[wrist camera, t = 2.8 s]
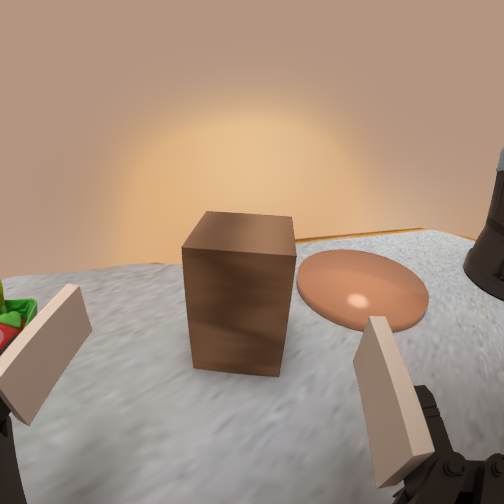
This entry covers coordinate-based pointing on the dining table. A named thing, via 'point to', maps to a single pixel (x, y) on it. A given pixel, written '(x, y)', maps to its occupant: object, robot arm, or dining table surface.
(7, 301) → the fruit basket
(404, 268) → the dish
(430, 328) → the dining table surface
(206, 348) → the walnut block
